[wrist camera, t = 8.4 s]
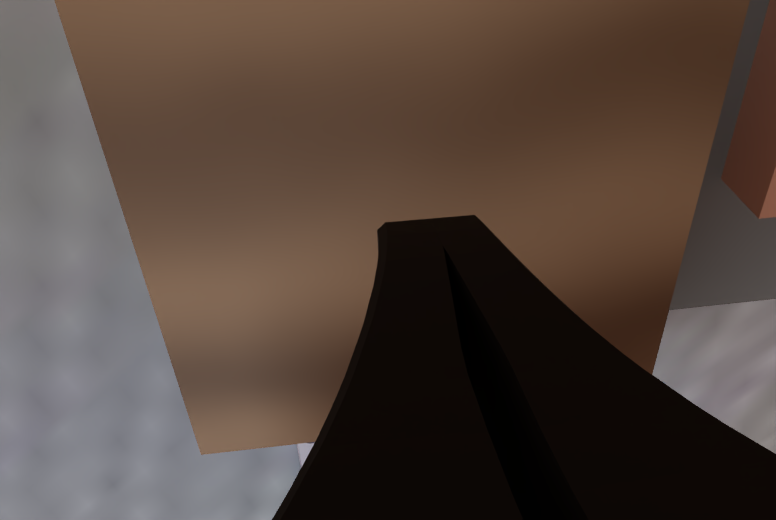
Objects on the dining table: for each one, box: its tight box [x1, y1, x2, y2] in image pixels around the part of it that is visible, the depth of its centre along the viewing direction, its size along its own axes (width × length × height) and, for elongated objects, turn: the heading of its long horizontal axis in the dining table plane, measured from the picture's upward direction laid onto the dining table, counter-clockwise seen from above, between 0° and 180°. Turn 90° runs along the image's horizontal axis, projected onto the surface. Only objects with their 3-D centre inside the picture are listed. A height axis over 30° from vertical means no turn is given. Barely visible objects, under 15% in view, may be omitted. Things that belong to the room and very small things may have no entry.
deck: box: [55, 0, 750, 455], centre depth 15 cm, size 18×12×4 cm, turn 3°
